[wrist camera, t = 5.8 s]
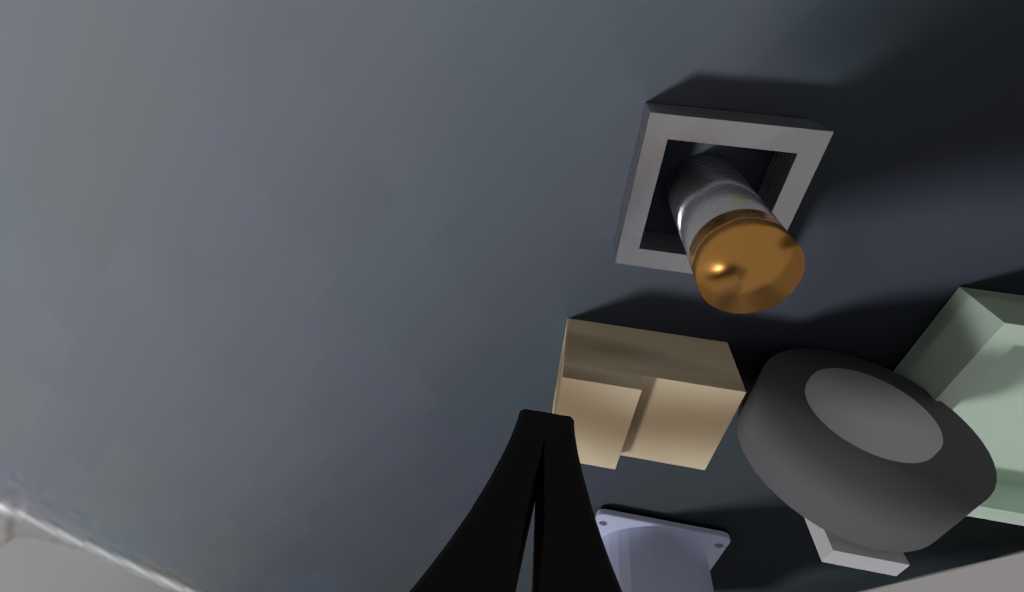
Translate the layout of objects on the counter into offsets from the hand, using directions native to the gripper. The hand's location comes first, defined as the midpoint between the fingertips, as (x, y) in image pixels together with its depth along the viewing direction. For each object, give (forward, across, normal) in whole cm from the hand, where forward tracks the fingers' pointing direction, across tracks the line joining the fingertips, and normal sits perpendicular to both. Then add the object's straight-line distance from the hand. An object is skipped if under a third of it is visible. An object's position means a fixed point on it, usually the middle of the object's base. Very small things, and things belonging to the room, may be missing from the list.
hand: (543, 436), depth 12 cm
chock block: (+8, -4, +5) cm, 10 cm away
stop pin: (+8, -4, -4) cm, 10 cm away
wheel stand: (+8, -11, +3) cm, 14 cm away
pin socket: (+8, -4, -4) cm, 10 cm away
